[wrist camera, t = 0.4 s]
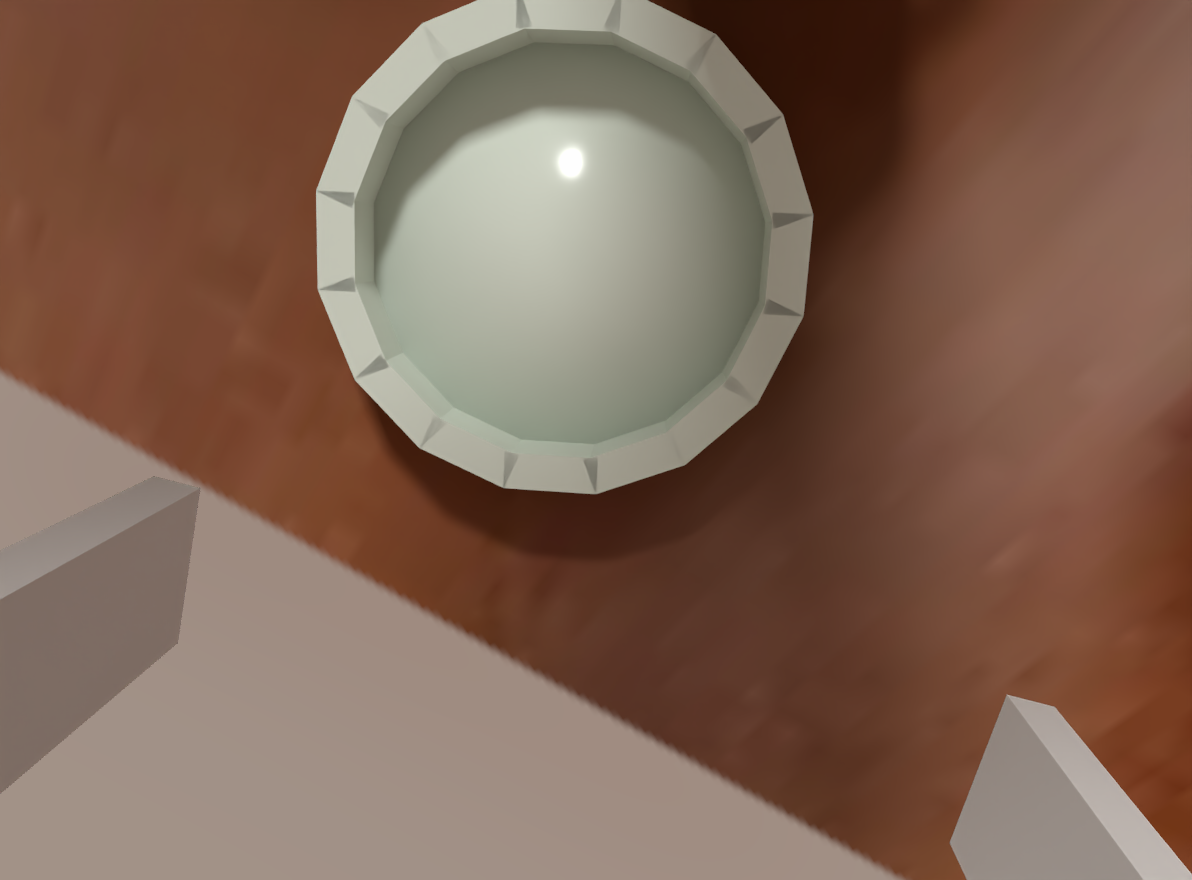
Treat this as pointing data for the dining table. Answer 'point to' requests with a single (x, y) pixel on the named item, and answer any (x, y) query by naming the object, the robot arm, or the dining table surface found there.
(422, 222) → the round tray
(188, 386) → the dining table surface
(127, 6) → the dining table surface
